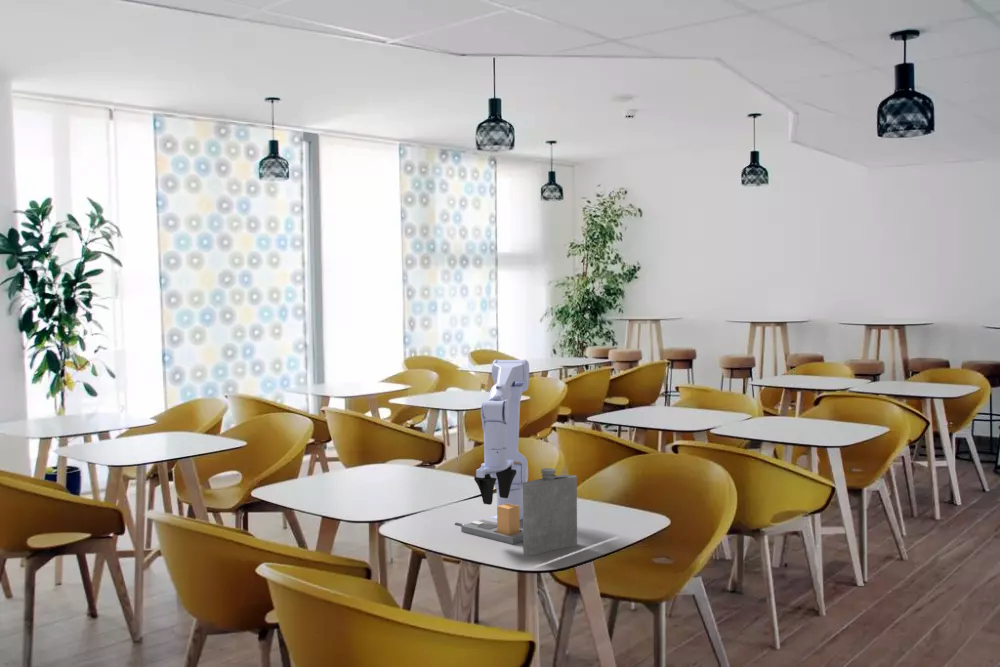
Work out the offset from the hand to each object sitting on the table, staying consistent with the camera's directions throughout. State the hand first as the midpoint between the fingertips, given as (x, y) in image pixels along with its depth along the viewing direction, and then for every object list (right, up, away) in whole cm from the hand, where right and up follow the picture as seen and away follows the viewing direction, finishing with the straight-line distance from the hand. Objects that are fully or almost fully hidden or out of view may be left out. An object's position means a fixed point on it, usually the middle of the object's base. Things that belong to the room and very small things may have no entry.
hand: (495, 500), depth 227 cm
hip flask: (+13, -11, -10) cm, 19 cm away
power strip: (-2, -10, +5) cm, 11 cm away
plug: (+3, -9, +1) cm, 10 cm away
